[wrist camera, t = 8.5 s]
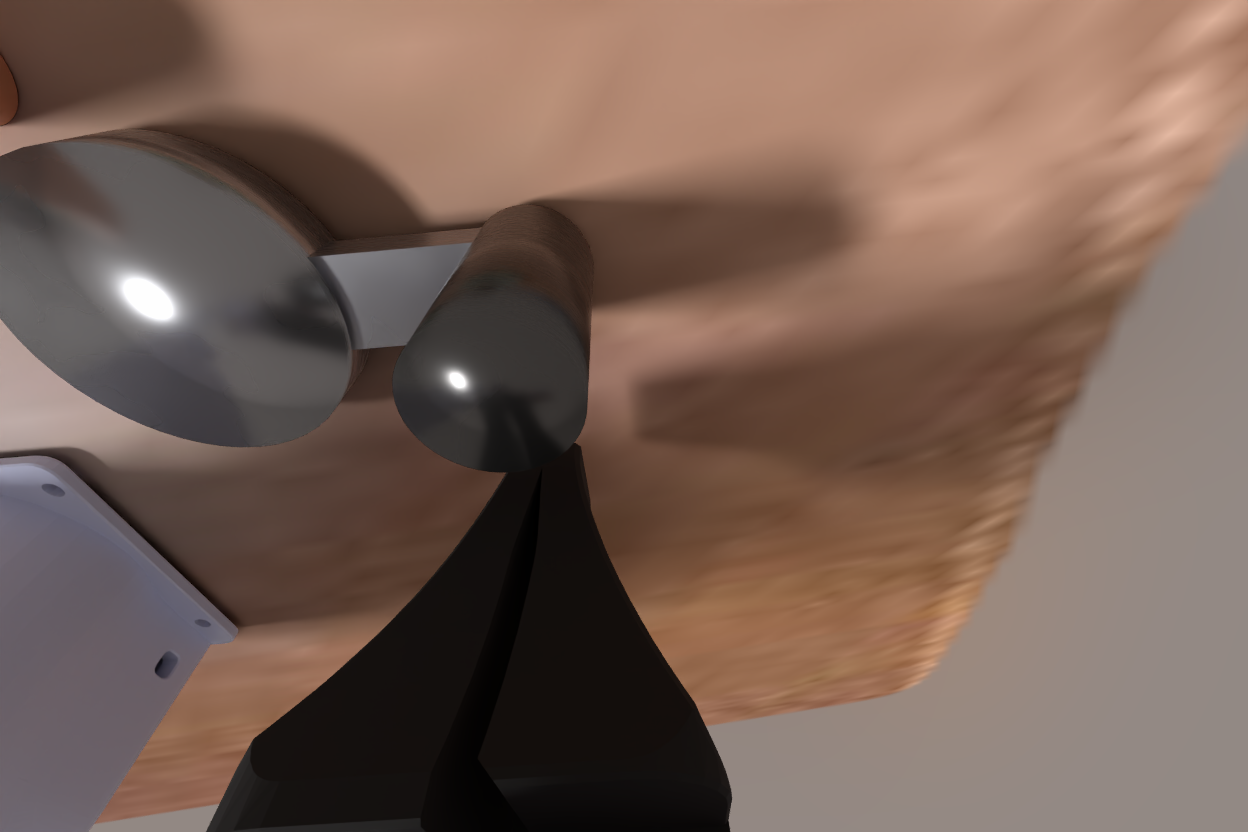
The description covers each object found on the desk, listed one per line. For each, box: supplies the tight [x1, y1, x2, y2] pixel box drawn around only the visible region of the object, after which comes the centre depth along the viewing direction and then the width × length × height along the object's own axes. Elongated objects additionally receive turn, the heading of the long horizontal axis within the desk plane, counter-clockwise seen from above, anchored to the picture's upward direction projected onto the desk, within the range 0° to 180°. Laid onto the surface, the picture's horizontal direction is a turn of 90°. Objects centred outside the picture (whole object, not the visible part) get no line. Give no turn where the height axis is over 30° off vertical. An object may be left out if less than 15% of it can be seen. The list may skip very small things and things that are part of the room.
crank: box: [0, 129, 594, 472], centre depth 9 cm, size 12×6×5 cm, turn 94°
